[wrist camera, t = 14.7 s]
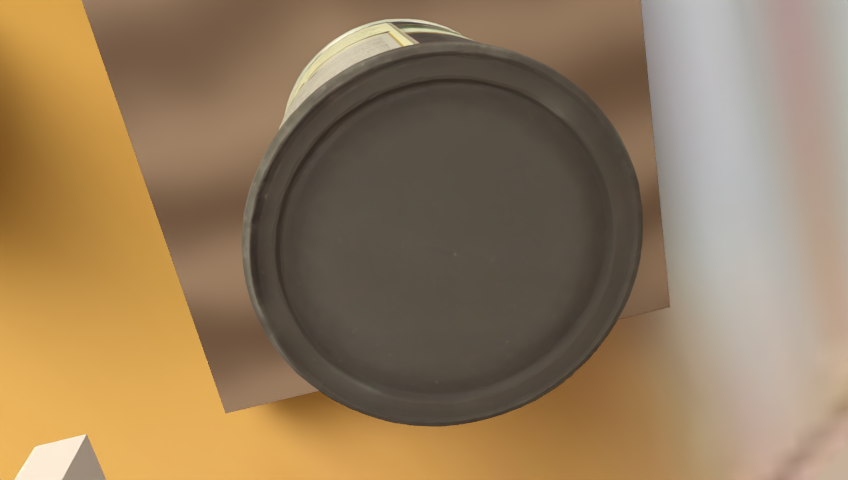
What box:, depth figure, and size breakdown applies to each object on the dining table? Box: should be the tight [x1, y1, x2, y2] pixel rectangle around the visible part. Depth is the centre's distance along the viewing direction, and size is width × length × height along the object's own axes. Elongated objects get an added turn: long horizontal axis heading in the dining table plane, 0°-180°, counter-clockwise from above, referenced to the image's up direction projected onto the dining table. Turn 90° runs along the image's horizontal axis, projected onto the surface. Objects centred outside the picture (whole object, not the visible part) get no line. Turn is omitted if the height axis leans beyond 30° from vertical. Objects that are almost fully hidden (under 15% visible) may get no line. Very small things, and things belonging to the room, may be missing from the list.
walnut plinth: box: [82, 0, 670, 413], centre depth 34 cm, size 22×22×5 cm
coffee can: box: [242, 19, 643, 426], centre depth 25 cm, size 10×10×14 cm
